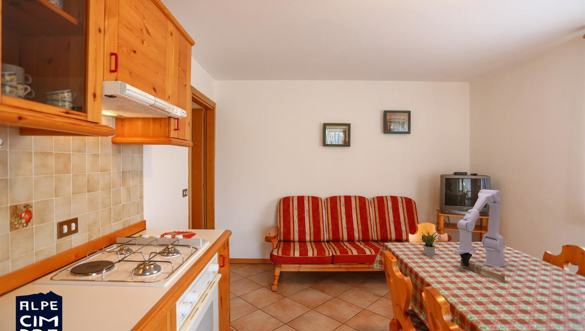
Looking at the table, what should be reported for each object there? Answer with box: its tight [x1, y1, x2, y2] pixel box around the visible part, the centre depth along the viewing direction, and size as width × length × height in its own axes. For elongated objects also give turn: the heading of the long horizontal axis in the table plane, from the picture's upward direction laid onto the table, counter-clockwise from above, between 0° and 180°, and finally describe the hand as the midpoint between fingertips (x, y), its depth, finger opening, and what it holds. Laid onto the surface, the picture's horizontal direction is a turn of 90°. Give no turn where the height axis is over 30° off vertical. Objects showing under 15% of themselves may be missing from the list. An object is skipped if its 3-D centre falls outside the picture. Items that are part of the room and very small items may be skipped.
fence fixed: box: [477, 265, 506, 284], centre depth 140 cm, size 2×13×4 cm, turn 23°
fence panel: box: [460, 258, 479, 274], centre depth 152 cm, size 11×2×4 cm, turn 11°
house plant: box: [420, 230, 443, 258], centre depth 177 cm, size 14×14×16 cm
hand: (465, 266), depth 153 cm, fingers closed, pressing on fence panel
